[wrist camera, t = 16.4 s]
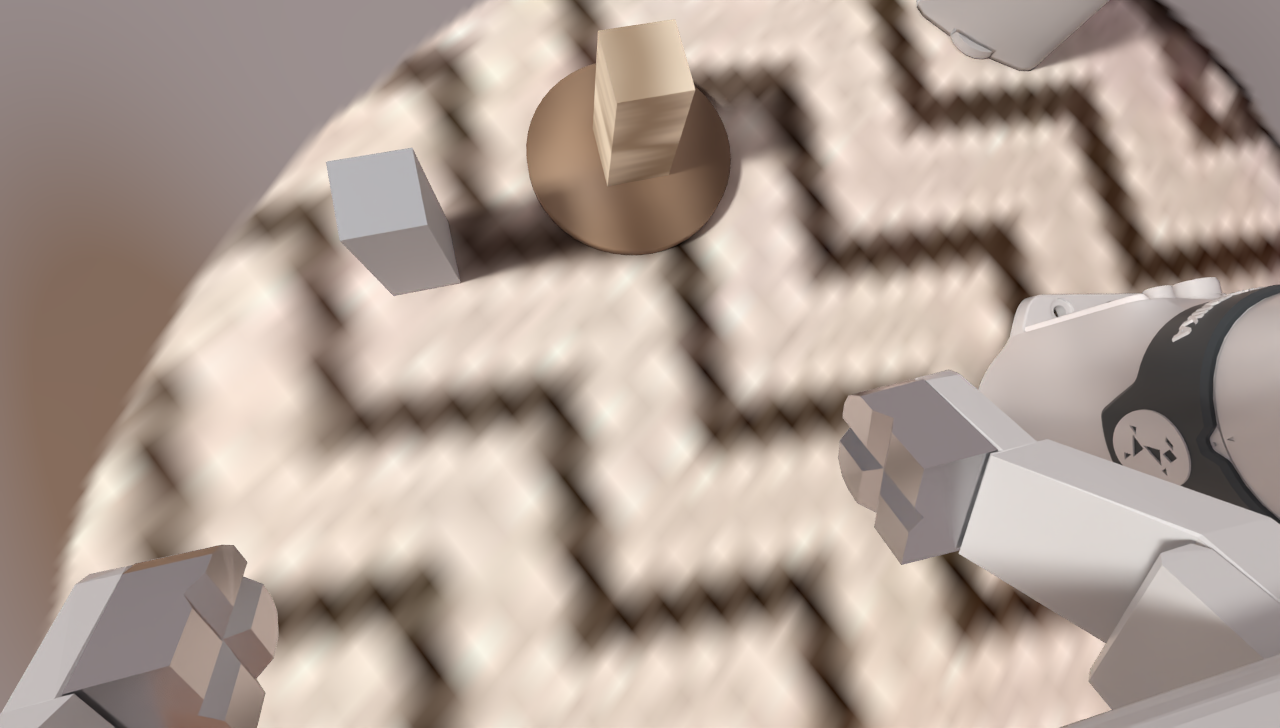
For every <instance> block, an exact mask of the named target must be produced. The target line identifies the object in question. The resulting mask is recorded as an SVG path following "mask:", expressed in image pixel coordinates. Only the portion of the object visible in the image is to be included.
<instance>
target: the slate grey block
mask: <svg viewBox="0 0 1280 728" xmlns="http://www.w3.org/2000/svg"><path fill="white" fill-rule="evenodd" d="M326 164H327V170H328V176H329V181H330V187H331V193H332V199H333V204H334V210H335V216H336V222H337V227H338V233H339V239H340V241H341V242H342V243H343V244H344V245H345V247H346V248H347V249H348V250H349V251H350V252H351V253H352V254H353V255H354V256H355V257H356V258H357V259H358V260H359V261H360V262H361V263H362V264H363V265H364V266H365V267H366V268H367V269H368V270H369V271H370V272H371V273H372V274H373V275H374V276H375V277H376V278H377V279H378V280H379V281H380V282H381V283H382V284H383V286H384V287H385V288H386V289H387V290H388V291H389V292H390V293H391V294H392V295H393V296H396V295H401V294H406V293H411V292H416V291H421V290H427V289H432V288H437V287H442V286H447V285H452V284H457V283H461V282H460V277H459V273H458V268H457V263H456V258H455V253H454V248H453V243H452V238H451V233H450V228H449V223H448V221H447V218H446V216H445V214H444V212H443V210H442V208H441V206H440V204H439V202H438V200H437V198H436V196H435V194H434V192H433V190H432V188H431V185H430V183H429V181H428V179H427V177H426V175H425V173H424V171H423V169H422V167H421V165H420V163H419V161H418V159H417V157H416V155H415V152H414V150H413V148H408V149H402V150H395V151H389V152H383V153H377V154H371V155H365V156H359V157H353V158H346V159H340V160H334V161H328V162H326Z"/></svg>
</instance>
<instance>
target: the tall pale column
mask: <svg viewBox="0 0 1280 728" xmlns="http://www.w3.org/2000/svg"><path fill="white" fill-rule="evenodd" d="M1108 1H1110V0H917V8H918V10H919V11H920V13H921V14H922V16H923V17H925V18H926V19H927V20H929V21H930V22H931V23H933V24H934V25H935V26H937V27H938V28H939V29H941V30H942V31H943V32H945V33H946V34H948V35H949V36H951V38H952V41H953V43H954V44H955V45H956V47H957V48H958V49H959V50H960V51H961V52H963V53H964V54H965V55H968V56H970V57H973V58H979V59H984V58H990V59H992V60H995V61H997V62H999V63H1002V64H1004V65H1007V66H1009V67H1012V68H1014V69H1016V70H1019V71H1030V70H1032V69H1033V68H1035V67H1036V66H1037V65H1038V64H1039V63H1041V61H1042V60H1044V59H1045V58H1046V57H1047V56H1048V55H1049V54H1050V53H1051V52H1052V51H1054V50H1055V49H1056V48H1057V47H1058V46H1059V45H1060V44H1061V43H1062V42H1064V41H1065V40H1066V39H1067V38H1068V37H1069V36H1071V35H1072V34H1073V33H1074V32H1075V31H1076V30H1077V29H1078V28H1079V27H1081V26H1082V25H1083V24H1084V23H1085V22H1086V21H1087V20H1088V19H1089V18H1091V17H1092V16H1093V15H1094V14H1095V13H1096V12H1097V11H1098V10H1100V9H1101V8H1102V7H1103V6H1104V5H1105V4H1106V3H1107V2H1108Z"/></svg>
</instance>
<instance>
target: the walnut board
mask: <svg viewBox="0 0 1280 728" xmlns="http://www.w3.org/2000/svg"><path fill="white" fill-rule="evenodd" d="M595 78H596V63H595V64H592V65H589V66H586V67H584V68H581V69H579V70H577V71H575V72H573V73H571V74H570V75H568V76H567V77H565V78H564V79H562V80H561V81H560V82H558V83H557V84H556V85H555V86H554V87H553V88H552V89H551V90H550V91H549V92H548V93H547V94H546V96H545V97H544V98H543V99H542V101H541V103H540V104H539V106H538V107H537V109H536V111H535V113H534V116H533V118H532V120H531V124H530V127H529V131H528V137H527V144H526V147H527V163H528V170H529V176H530V180H531V183H532V187H533V190H534V192H535V194H536V196H537V198H538V201H539V202H540V204H541V205H542V207H543V209H544V210H545V212H546V213H547V214H548V215H549V217H550V218H551V219H552V220H553V221H554V222H555V223H556V224H557V225H558V226H559V227H560V228H561V229H562V230H563V231H565V232H566V233H567V234H569V235H570V236H572V237H573V238H574V239H576V240H578V241H580V242H582V243H584V244H585V245H587V246H590V247H593V248H595V249H598V250H601V251H605V252H609V253H613V254H621V255H643V254H651V253H655V252H659V251H663V250H666V249H669V248H671V247H674V246H676V245H678V244H680V243H682V242H683V241H685V240H687V239H688V238H690V237H691V236H692V235H694V234H695V233H696V232H697V231H699V230H700V228H701V227H702V226H703V225H704V224H705V223H706V222H707V221H708V220H709V218H710V217H711V216H712V214H713V213H714V211H715V209H716V207H717V206H718V204H719V202H720V200H721V198H722V196H723V194H724V191H725V188H726V186H727V183H728V178H729V173H730V161H731V158H730V146H729V141H728V137H727V133H726V130H725V128H724V125H723V123H722V121H721V119H720V117H719V115H718V113H717V111H716V110H715V108H714V107H713V105H712V104H711V102H710V101H709V100H708V99H707V98H706V97H705V95H704V94H703V93H702V92H701V91H700V90H699V89H697V88H696V87H695V86H694V87H695V93H694V96H693V99H692V102H691V105H690V109H689V112H688V115H687V118H686V121H685V125H684V128H683V131H682V134H681V138H680V141H679V144H678V147H677V150H676V154H675V157H674V160H673V163H672V166H671V170H670V173H669V175H666V176H661V177H656V178H650V179H645V180H640V181H634V182H629V183H624V184H618V185H613V186H608V187H607V183H606V179H605V175H604V171H603V167H602V163H601V159H600V155H599V151H598V147H597V143H596V140H595V136H594V132H593V115H594V96H595Z"/></svg>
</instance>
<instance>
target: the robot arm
mask: <svg viewBox="0 0 1280 728" xmlns="http://www.w3.org/2000/svg"><path fill="white" fill-rule="evenodd" d="M1054 310H1055V311H1056V312H1057V315H1058V317H1056V316H1055V314H1054V312H1053V311H1054ZM843 418H844V420H845V421H846V422H847V424H848V425H849V426H850V428H849V430H848V431H847V432H846V433H845V435H844V436H843V437H842V438H841V440H840V442H839V455H838V459H839V464H840V469H841V473H842V477H843V479H844V481H845V483H846V486H847V488H848V490H849V491H850V493H851V494H852V496H853V497H854V499H855V500H856V502H857V503H858V504H860V505H862V506H864V507H866V508H868V509H870V510H872V511H874V512H876V517H875V526H874V527H875V529H876V530H877V532H878V533H879V534H880V536H881V537H882V539H883V540H884V541H885V543H886V544H887V546H888V547H889V548H890V550H891V551H892V553H893V554H894V555H895V557H896V558H897V560H898V561H899V562H900V564H901V565H903V564H907V563H911V562H915V561H919V560H923V559H927V558H930V557H934V556H938V555H942V554H946V553H950V552H954V551H958V550H960V551H959V554H960V555H962V556H964V557H965V558H967V559H969V560H970V561H972V562H974V563H975V564H977V565H978V566H980V567H982V568H983V569H985V570H987V571H988V572H990V573H992V574H993V575H995V576H996V577H998V578H1000V579H1001V580H1003V581H1005V582H1006V583H1008V584H1010V585H1011V586H1013V587H1015V588H1016V589H1018V590H1019V591H1021V592H1023V593H1024V594H1026V595H1028V596H1029V597H1031V598H1033V599H1034V600H1036V601H1037V602H1039V603H1041V604H1042V605H1044V606H1046V607H1047V608H1049V609H1051V610H1052V611H1054V612H1055V613H1057V614H1059V615H1060V616H1062V617H1064V618H1065V619H1067V620H1069V621H1070V622H1072V623H1074V624H1075V625H1077V626H1078V627H1080V628H1082V629H1083V630H1085V631H1087V632H1088V633H1090V634H1092V635H1093V636H1095V637H1096V638H1098V639H1100V640H1101V641H1103V642H1105V643H1106V644H1105V646H1104V648H1103V649H1102V651H1101V652H1100V654H1099V656H1098V657H1097V659H1096V661H1095V662H1094V664H1093V666H1092V667H1091V669H1090V675H1089V683H1090V684H1091V685H1092V686H1093V687H1094V689H1095V690H1096V691H1097V692H1098V693H1099V695H1100V696H1101V697H1102V698H1103V699H1104V701H1105V702H1106V703H1107V704H1108V705H1109V707H1110V708H1111V709H1112V710H1110V711H1107V712H1105V713H1102V714H1099V715H1096V716H1093V717H1090V718H1087V719H1084V720H1081V721H1078V722H1075V723H1072V724H1069V725H1066V726H1063V727H1060V728H1280V285H1273V286H1269V287H1262V288H1261V287H1259V288H1254V289H1253V288H1252V289H1248V290H1242V291H1239V292H1235V293H1231V294H1224V293H1222V290H1221V286H1220V282H1219V280H1217V278H1215V277H1209V278H1200V279H1194V280H1189V281H1185V282H1181V283H1178V284H1175V285H1173V286H1171V285H1166V286H1158V287H1153V288H1150V289H1146V290H1144V291H1143V293H1121V294H1042V295H1037V296H1033V297H1029V298H1026V299H1024V300H1023V301H1022V302H1021V303H1020V305H1019V306H1018V309H1017V311H1016V314H1015V317H1014V321H1013V325H1012V330H1011V334H1010V338H1009V340H1008V341H1007V343H1006V345H1005V346H1004V348H1003V349H1002V350H1001V351H1000V353H999V354H998V355H997V356H996V358H995V359H994V360H993V361H992V363H991V364H990V366H989V367H988V369H987V371H986V372H985V374H984V376H983V379H982V381H981V383H980V386H979V389H976V388H975V387H974V386H973V385H972V384H971V383H970V382H968V381H967V380H966V379H965V378H964V377H963V376H962V375H960V374H959V373H957V372H954V371H951V370H946V371H942V372H938V373H934V374H930V375H926V376H922V377H918V378H915V379H914V380H907V381H903V382H899V383H895V384H891V385H887V386H883V387H879V388H875V389H871V390H867V391H863V392H859V393H855V394H851V395H849V397H848V398H847V400H846V402H845V403H844V410H843ZM246 565H247V561H246V560H245V559H244V557H243V556H242V555H241V554H240V552H239V551H238V550H237V549H236V548H235V546H234V545H219V546H214V547H209V548H205V549H200V550H195V551H191V552H186V553H182V554H177V555H172V556H168V557H163V558H158V559H154V560H149V561H144V562H140V563H135V564H134V565H131V566H126V567H121V568H116V569H112V570H107V571H102V572H97V573H93V574H89V575H88V576H86V577H85V578H84V579H82V580H81V581H80V582H78V583H77V584H76V585H75V586H74V588H73V589H72V591H71V593H70V594H69V596H68V598H67V600H66V601H65V603H64V605H63V607H62V608H61V610H60V612H59V614H58V615H57V617H56V619H55V621H54V622H53V624H52V626H51V628H50V629H49V631H48V633H47V635H46V636H45V638H44V640H43V642H42V643H41V645H40V647H39V648H38V650H37V652H36V654H35V655H34V657H33V659H32V661H31V663H30V664H29V666H28V668H27V669H26V671H25V673H24V675H23V676H22V678H21V680H20V682H19V683H18V685H17V687H16V689H15V691H14V692H13V694H12V695H11V697H10V699H9V701H8V702H7V704H6V706H5V708H4V709H3V711H2V712H1V713H0V728H257V725H258V721H259V717H260V713H261V709H262V705H263V701H264V697H265V691H264V690H263V688H262V687H261V685H260V684H259V682H258V681H257V677H258V676H259V675H260V674H261V673H262V671H263V670H264V669H265V668H266V667H267V665H268V664H269V663H270V662H271V661H272V659H273V658H274V655H275V650H276V645H277V641H278V614H277V610H276V607H275V604H274V601H273V598H272V596H271V595H270V593H269V592H268V590H267V589H266V587H265V586H264V584H262V583H259V582H256V581H254V580H251V579H248V578H246V577H243V574H244V571H245V568H246Z"/></svg>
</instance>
